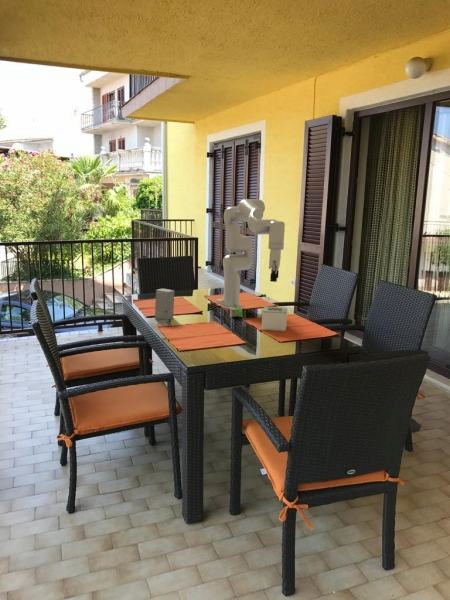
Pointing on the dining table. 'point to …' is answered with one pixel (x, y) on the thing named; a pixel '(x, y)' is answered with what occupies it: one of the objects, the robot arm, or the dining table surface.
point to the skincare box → (164, 304)
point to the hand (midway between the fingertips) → (274, 279)
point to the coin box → (274, 318)
